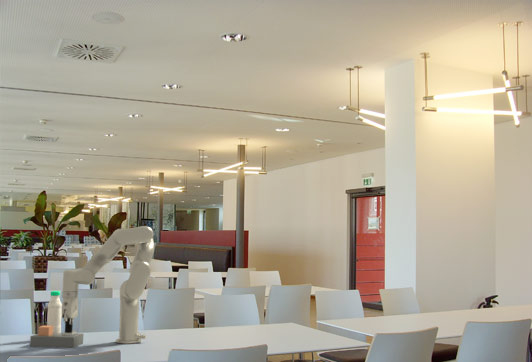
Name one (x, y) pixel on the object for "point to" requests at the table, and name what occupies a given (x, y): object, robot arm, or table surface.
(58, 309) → the water bottle
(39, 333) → the terracotta button
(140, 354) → the table surface
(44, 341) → the block
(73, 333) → the grey button
